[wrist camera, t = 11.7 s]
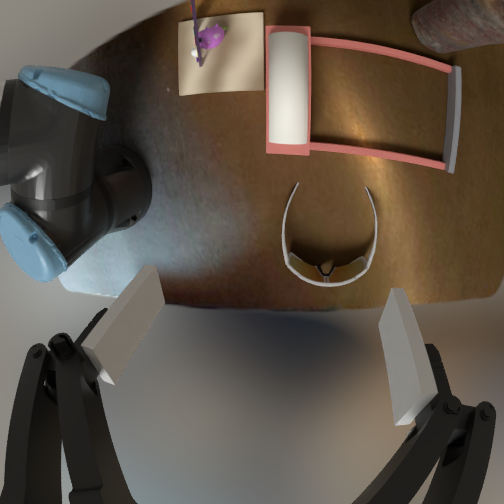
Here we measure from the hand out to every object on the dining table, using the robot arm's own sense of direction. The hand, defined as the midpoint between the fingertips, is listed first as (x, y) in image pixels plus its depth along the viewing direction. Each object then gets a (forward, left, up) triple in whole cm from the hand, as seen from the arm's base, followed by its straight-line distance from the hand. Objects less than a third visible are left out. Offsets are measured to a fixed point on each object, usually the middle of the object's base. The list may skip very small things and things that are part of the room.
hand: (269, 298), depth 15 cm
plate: (-10, +18, -27) cm, 34 cm away
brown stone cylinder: (+20, +25, -27) cm, 42 cm away
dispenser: (+10, +12, -27) cm, 31 cm away
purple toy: (-11, +21, -26) cm, 35 cm away
